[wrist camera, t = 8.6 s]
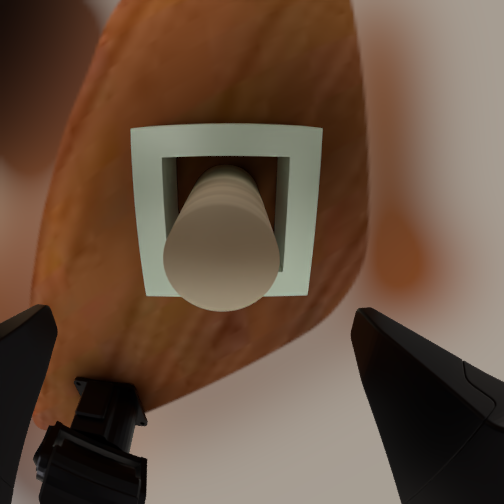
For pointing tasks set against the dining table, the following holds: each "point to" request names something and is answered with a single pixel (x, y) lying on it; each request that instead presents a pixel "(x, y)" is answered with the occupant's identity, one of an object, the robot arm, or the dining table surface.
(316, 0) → the dining table surface
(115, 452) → the robot arm
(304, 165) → the socket
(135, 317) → the dining table surface
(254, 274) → the peg
